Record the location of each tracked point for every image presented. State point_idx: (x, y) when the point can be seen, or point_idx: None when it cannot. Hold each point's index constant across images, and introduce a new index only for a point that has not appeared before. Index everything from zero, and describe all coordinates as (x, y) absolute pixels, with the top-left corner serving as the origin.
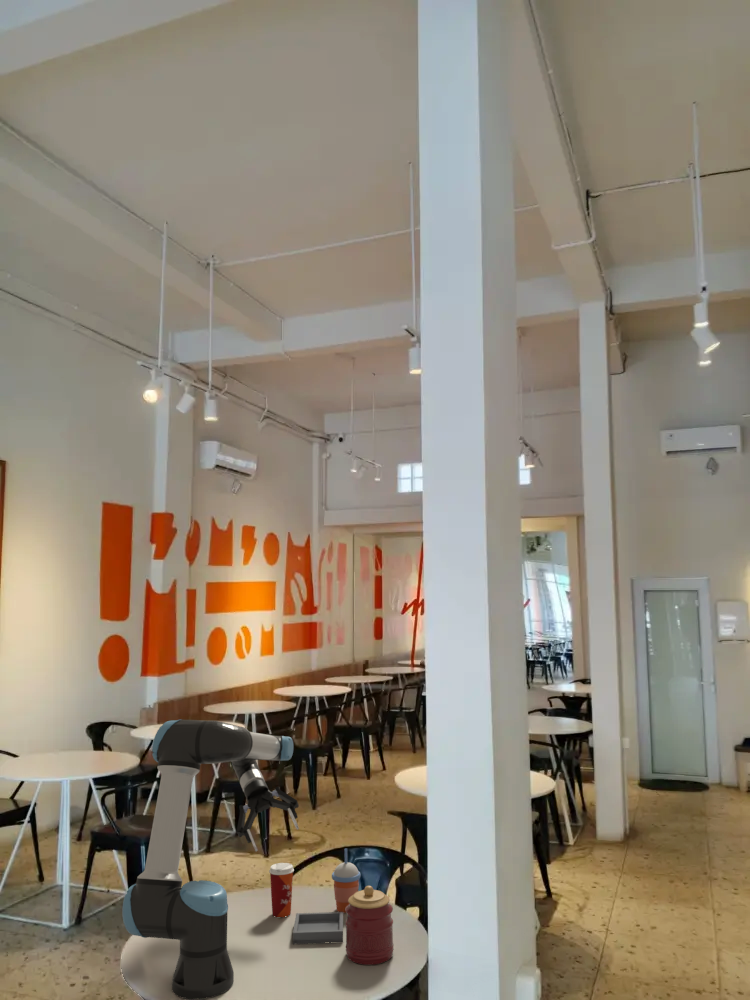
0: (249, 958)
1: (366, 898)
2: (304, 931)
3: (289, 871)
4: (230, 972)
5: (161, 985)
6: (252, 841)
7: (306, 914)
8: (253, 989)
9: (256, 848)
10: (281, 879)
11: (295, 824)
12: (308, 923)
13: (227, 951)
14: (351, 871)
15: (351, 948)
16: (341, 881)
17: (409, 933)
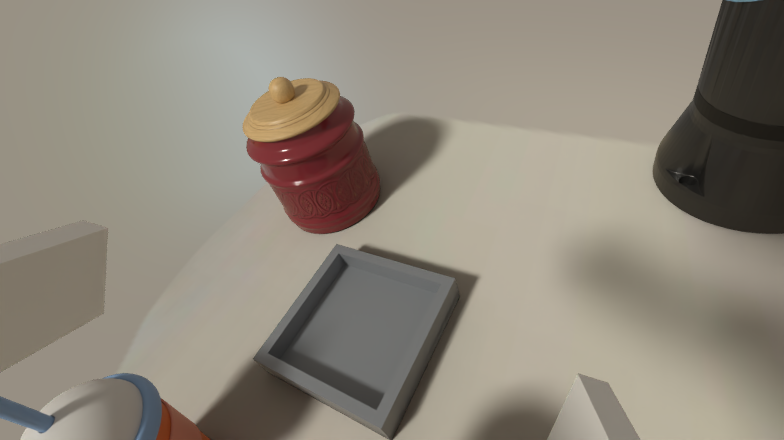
0: (603, 262)
1: (304, 86)
2: (421, 275)
3: None
4: (666, 134)
5: None
6: (625, 434)
7: (354, 399)
8: (603, 144)
9: (561, 424)
10: None
11: (102, 230)
12: (365, 386)
13: (688, 117)
14: (94, 380)
15: (373, 165)
16: (157, 393)
17: (212, 252)
